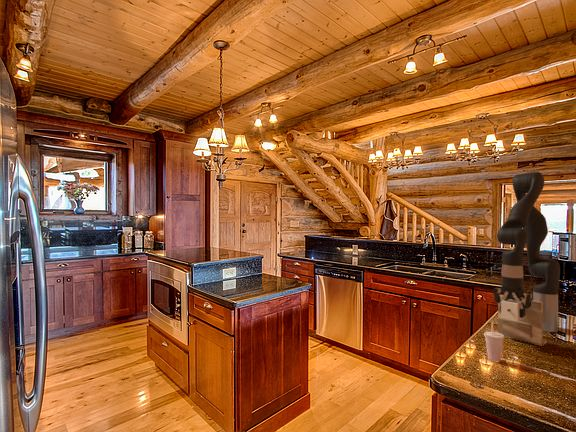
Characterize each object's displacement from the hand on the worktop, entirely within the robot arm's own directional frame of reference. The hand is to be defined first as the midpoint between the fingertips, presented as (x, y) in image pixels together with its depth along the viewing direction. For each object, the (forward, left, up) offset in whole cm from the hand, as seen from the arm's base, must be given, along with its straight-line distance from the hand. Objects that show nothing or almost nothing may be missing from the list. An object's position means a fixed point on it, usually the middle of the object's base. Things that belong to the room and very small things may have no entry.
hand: (512, 315), depth 135 cm
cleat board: (-7, 0, -12) cm, 14 cm away
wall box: (0, 0, -1) cm, 1 cm away
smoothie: (+23, +3, -12) cm, 26 cm away
